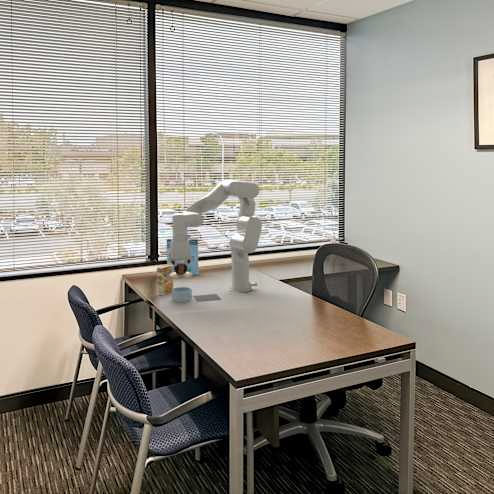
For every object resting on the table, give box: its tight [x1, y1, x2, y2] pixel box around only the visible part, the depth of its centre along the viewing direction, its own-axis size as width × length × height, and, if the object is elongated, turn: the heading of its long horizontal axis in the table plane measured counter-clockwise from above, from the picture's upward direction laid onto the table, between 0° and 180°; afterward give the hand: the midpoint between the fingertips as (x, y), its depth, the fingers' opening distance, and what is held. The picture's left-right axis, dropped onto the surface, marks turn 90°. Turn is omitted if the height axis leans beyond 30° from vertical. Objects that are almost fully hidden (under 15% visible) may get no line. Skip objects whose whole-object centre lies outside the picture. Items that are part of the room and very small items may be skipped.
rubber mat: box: [192, 293, 223, 303], centre depth 279 cm, size 13×13×1 cm
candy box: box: [156, 264, 174, 297], centre depth 289 cm, size 9×4×15 cm, turn 150°
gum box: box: [166, 238, 199, 276], centre depth 338 cm, size 20×5×23 cm, turn 85°
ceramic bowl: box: [171, 286, 193, 303], centre depth 275 cm, size 10×10×6 cm
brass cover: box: [169, 263, 194, 279], centre depth 273 cm, size 12×12×6 cm
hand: (180, 272), depth 273 cm, fingers closed on brass cover, 3 cm apart
